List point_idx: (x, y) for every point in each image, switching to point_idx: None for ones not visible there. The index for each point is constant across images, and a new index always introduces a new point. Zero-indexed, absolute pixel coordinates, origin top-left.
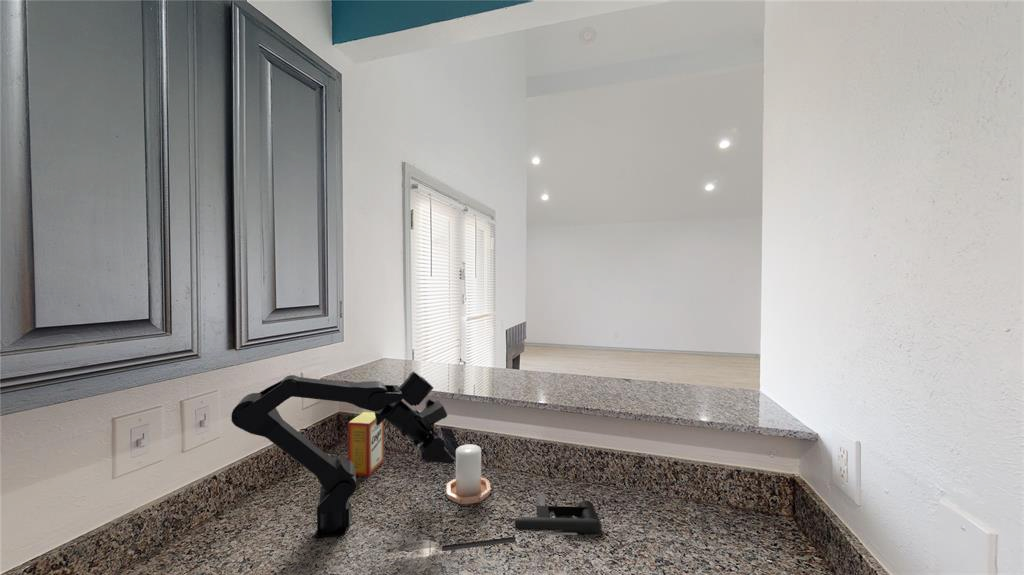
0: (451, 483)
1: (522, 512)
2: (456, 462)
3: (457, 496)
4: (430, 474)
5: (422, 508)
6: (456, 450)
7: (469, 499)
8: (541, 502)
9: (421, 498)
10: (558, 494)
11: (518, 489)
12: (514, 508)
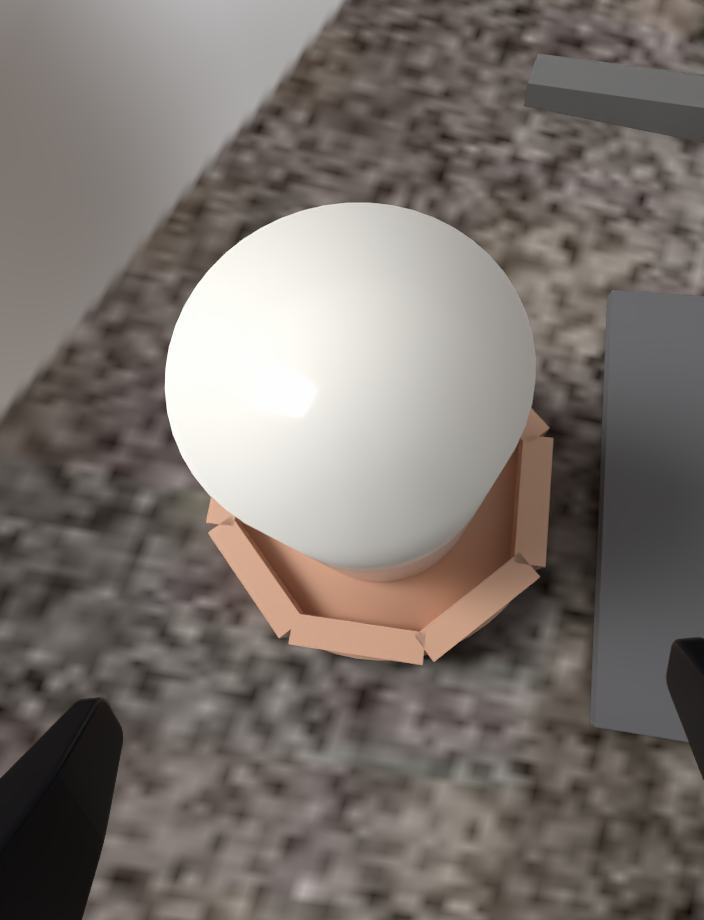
0: (291, 603)
1: (662, 219)
2: (378, 560)
3: (491, 588)
4: (11, 729)
5: (456, 863)
6: (301, 535)
7: (548, 505)
8: (656, 86)
9: (320, 853)
10: (533, 5)
11: (418, 186)
12: (611, 251)
